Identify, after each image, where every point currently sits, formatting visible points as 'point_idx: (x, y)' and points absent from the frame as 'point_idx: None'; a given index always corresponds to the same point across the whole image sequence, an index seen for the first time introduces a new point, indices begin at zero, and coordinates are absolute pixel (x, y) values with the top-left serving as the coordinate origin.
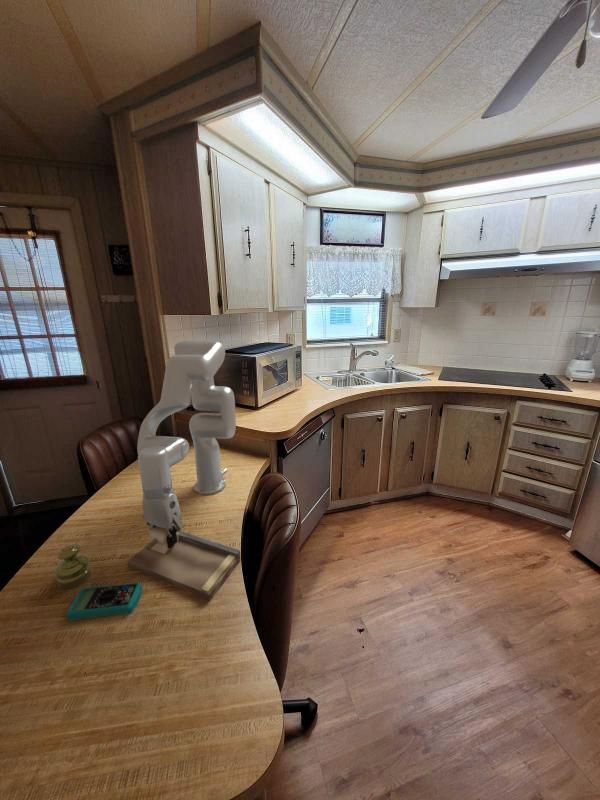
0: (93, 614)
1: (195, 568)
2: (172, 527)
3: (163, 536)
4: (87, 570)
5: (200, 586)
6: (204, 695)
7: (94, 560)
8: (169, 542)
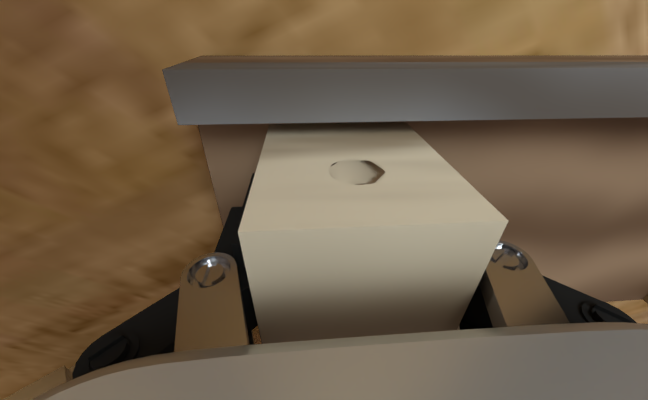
0: None
1: (600, 245)
2: (487, 301)
3: None
4: None
5: (636, 289)
6: None
7: (86, 323)
8: None
